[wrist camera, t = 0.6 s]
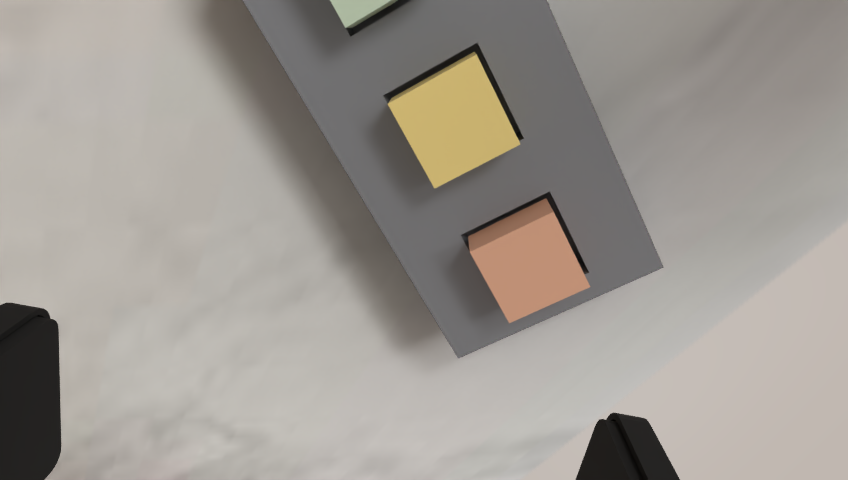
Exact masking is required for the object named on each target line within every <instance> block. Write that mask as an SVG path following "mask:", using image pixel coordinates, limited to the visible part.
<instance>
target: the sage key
mask: <svg viewBox="0 0 848 480" xmlns="http://www.w3.org/2000/svg"><path fill="white" fill-rule="evenodd" d="M330 1H331V3H332V5H333V7H334V8H335V10H336V12H337V14H338V16H339V17H340V19H341V21H342V23H343V25H344V26H345V28H351V27H355V26H356V25H358V24H360V23H361V22H363V21H365V20H366V19H368V18H370V17H371V16H373V15H375V14H376V13H378V12H380V11H381V10H383V9H385V8H386V7H388V6H390V5H391V4H393V3H395V2H396V1H398V0H330Z"/></svg>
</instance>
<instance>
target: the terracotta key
mask: <svg viewBox="0 0 848 480" xmlns="http://www.w3.org/2000/svg"><path fill="white" fill-rule="evenodd" d="M468 240H469V250H470V253H471V255H472V257H473V259H474V261H475V263H476V264H477V266H478V268H479V270H480V272H481V273H482V275H483V277H484V279H485V281H486V282H487V284H488V286H489V288H490V290H491V291H492V293H493V295H494V297H495V299H496V300H497V302H498V304H499V306H500V308H501V309H502V311H503V313H504V315H505V317H506V318H507V320H508V322H509V323H511V322H513V321H516V320H518V319H520V318H522V317H525V316H527V315H529V314H531V313H533V312H536V311H538V310H540V309H542V308H545V307H547V306H549V305H551V304H554V303H556V302H558V301H560V300H562V299H565V298H567V297H569V296H571V295H574V294H576V293H578V292H580V291H583V290H585V289H587V288H589V287H590V285H589V283H588V281H587V279H586V277H585V275H584V273H583V271H582V269H581V267H580V265H579V262H578V260H577V258H576V256H575V254H574V252H573V250H572V248H571V246H570V244H569V242H568V240H567V238H566V236H565V234H564V232H563V230H562V228H561V226H560V224H559V222H558V220H557V218H556V216H555V213H554V211H553V210H552V208H551V206H550V204H549V202H548V201H547V199H546V198H545V199H543V200H541V201H539V202H537V203H535V204H533V205H531V206H529V207H527V208H525V209H523V210H521V211H519V212H517V213H514V214H512V215H510V216H508V217H506V218H504V219H502V220H500V221H498V222H496V223H494V224H492V225H490V226H488V227H486V228H484V229H482V230H480V231H478V232H476V233H474V234H472V235H470V236H468Z"/></svg>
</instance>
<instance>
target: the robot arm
mask: <svg viewBox="0 0 848 480" xmlns="http://www.w3.org/2000/svg"><path fill="white" fill-rule="evenodd" d="M60 452H61V419H60V375H59V332H58V324H57V322H56V321H55V320H53V319H50V315H49V313H48V312H47V311H46V310H45V309H42V308H37V307H31V306H26V305H20V304H15V303H5V304H2V305H0V480H44V479H45V478H46V477H47V476H48V475H49V474H50V473H51V471H52V470H53V468H54V467H55V465H56V463H57V461H58V459H59V456H60ZM576 480H680V479H679V477H678V475H677V474H676V472H675V470H674V468H673V466H672V464H671V462H670V461H669V459H668V457H667V455H666V453H665V451H664V449H663V448H662V446H661V444H660V442H659V440H658V438H657V436H656V434H655V433H654V431H653V429H652V427H651V425H650V424H649V422H648V421H647V420H646V419H644V418H640V417H635V416H629V415H624V414H618V413H612V414H610V415H609V416H608V418H607V420H604V419H600V420H599V421H598V422H597V424H596V426H595V428H594V431H593V434H592V437H591V439H590V442H589V445H588V448H587V450H586V453H585V456H584V458H583V461H582V464H581V467H580V469H579V472H578V475H577V478H576Z"/></svg>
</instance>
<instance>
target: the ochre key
mask: <svg viewBox="0 0 848 480" xmlns="http://www.w3.org/2000/svg"><path fill="white" fill-rule="evenodd" d="M388 106H389V107H390V109H391V111H392V113H393V115H394V117H395V118H396V120H397V122H398V124H399V126H400V127H401V129H402V131H403V133H404V135H405V136H406V138H407V140H408V142H409V144H410V145H411V147H412V149H413V151H414V153H415V154H416V156H417V158H418V160H419V162H420V163H421V165H422V167H423V169H424V171H425V172H426V174H427V176H428V178H429V180H430V181H431V183H432V185H433V187H434V189H435V188H437V187H439V186H441V185H443V184H445V183H447V182H448V181H450V180H452V179H454V178H456V177H458V176H460V175H462V174H464V173H466V172H468V171H470V170H472V169H474V168H476V167H478V166H480V165H482V164H483V163H485V162H487V161H489V160H491V159H493V158H495V157H497V156H499V155H501V154H503V153H505V152H507V151H509V150H511V149H513V148H515V147H516V146H518V145H520V142H519V140H518V138H517V136H516V134H515V132H514V130H513V128H512V126H511V124H510V122H509V120H508V118H507V115H506V113H505V111H504V109H503V107H502V105H501V103H500V101H499V99H498V97H497V95H496V93H495V91H494V89H493V87H492V85H491V83H490V81H489V79H488V77H487V75H486V73H485V71H484V69H483V67H482V64H481V62H480V60H479V58H478V56H477V54H476V53H475V52H473V53H471V54H469V55H467V56H465V57H464V58H462V59H460V60H458V61H457V62H455V63H453V64H451V65H449V66H448V67H446V68H444V69H442V70H440V71H439V72H437V73H435V74H433V75H432V76H430V77H428V78H426V79H424V80H423V81H421V82H419V83H417V84H415V85H414V86H412V87H410V88H408V89H407V90H405V91H403V92H401V93H399V94H398V95H396V96H394V97H392V98H391V100H390V101H389V103H388Z"/></svg>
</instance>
